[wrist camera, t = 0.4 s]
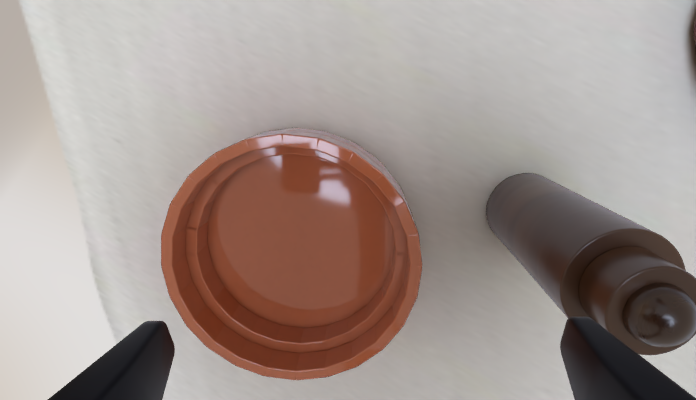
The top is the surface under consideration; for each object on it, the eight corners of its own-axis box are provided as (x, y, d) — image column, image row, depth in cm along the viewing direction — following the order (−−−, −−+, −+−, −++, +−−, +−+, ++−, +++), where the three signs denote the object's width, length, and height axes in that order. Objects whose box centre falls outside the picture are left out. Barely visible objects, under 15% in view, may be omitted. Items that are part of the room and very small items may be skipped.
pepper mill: (526, 258, 25) (676, 418, 13) (470, 216, 25) (570, 341, 12) (577, 202, 24) (792, 318, 12) (520, 158, 24) (682, 231, 12)
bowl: (327, 375, 28) (320, 421, 24) (152, 259, 27) (115, 288, 23) (460, 219, 25) (476, 242, 21) (271, 78, 24) (252, 76, 20)
